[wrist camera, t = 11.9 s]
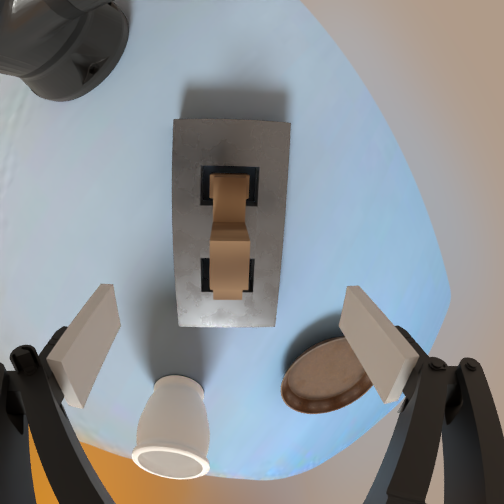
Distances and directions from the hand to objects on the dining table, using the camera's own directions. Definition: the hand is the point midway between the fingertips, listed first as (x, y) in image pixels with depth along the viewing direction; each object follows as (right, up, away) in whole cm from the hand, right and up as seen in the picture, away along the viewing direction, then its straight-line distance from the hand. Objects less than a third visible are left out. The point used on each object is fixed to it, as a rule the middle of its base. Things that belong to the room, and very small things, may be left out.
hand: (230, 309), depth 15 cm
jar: (-11, -20, +27) cm, 36 cm away
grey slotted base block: (-2, +6, +19) cm, 20 cm away
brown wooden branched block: (-2, +6, +19) cm, 20 cm away
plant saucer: (+14, -16, +29) cm, 36 cm away
